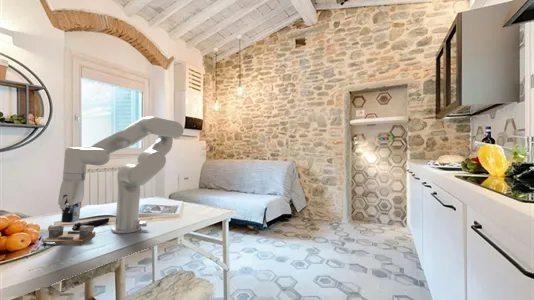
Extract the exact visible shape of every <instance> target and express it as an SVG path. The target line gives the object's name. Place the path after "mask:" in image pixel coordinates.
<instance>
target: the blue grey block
mask: <svg viewBox="0 0 534 300" xmlns="http://www.w3.org/2000/svg"><path fill="white" fill-rule="evenodd" d="M66 207H68V209H69V206H66ZM71 213H72V221H71V222H70V223H73V224H74V223H75V222H78V221H79V220H80V214H81V205H80V206H76V205H75V204H74V205H73V206H72V210H71ZM62 216H63V213H62V212H61V217H62ZM60 221H61V223H63V222H62V218H61V220H60Z"/></svg>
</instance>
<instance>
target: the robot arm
mask: <svg viewBox="0 0 534 300" xmlns="http://www.w3.org/2000/svg"><path fill="white" fill-rule="evenodd" d="M184 129H185V128H184V126H183V125H182V124H181V123H180V122H178V121H175V120H171V119H165V118H161V117H156V116H145V117H141V118H140V119H138V120H136V121H134V122H133V123H131V124H130V125H128V126H126V127H124V128H123V129H121V130H119V131H117V132H115V133H113V134H111V135H110V136H107V137H105V138H103V139H101V140H99V141H98V142H96V143H94V144H93V145H91V146H89V147H88V148H85V147H78V146H76V147H75V146H69V147H67V148H66V149H65V150H64V161H63V170H62V173H63V174H62V181H61V185H60V189H59V194H58V200H57V204H58V206H59V208H60V210H61V214H62V213H63V216H62V215H61V219H62V222H61V223H70V222H71V221H72V213H71V210H72V206H73V205H76V206H80V207H81V204H82V202H83V201H84V197H85V181H86V173H87V165H88V166H98V167H99V166H101V167H102V166H104V165H106V164H107V163H109V161H110V159H111V156H110V155H111V154H112V153H114V152H116V151H120V150H123V149H127V148H130V147H132V146H134V145H136V143H138V142H140V141H141V140H143V139H144V138H146V137H148V136H149V135H155V136H157V139H156V140H155V142H153V144H151V145H150V146H148V147H146V149H145V150H144V151H142V152H141V153H140V154H139V155H138V156H137V164H134V163H127V164H124V165H122V166H121V167H119V169H118V172H117V175H116V176H117V199H116V214H115V225H112V227H111V230H110V231H111V232H112V233H115V234H131V233H135V232H138V231H140V230H141V229H142V228H143V227H144V228H145V227H147V226H148V222H146V221H141V218H139V212H140V209H139V208H140V198H141V197H140V196H141V187H142V186H144V185H146V184H147V183H148V182H150V180H152V179H153V178H154V177H155V176H156V175H157V174H158V173H160V171H162V169H163V168H164V167H165V166H166V163H167V157H166V155H168V154H169V152H170V151H171V150H172V148H173V144H174V143H173V140H174V139H178V138H180V137H181V136H182V135H183V134H184ZM66 206H69V209H68V207H66Z"/></svg>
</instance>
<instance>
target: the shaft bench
mask: <svg viewBox="0 0 534 300" xmlns="http://www.w3.org/2000/svg"><path fill="white" fill-rule="evenodd" d="M64 227H65V226H64V225H63V224H61V225H59V224H57V225H56V224H50V225H49V226H48V228H47V231H48V237H46V238H44V239H42V240H41V243H42V242H55V243H56V244H55V245H59V246H60V245H62V246H63V245H66V246H67V245H68V246H69V245H70V246H71V245H74V246H75V245H78V246H79V245H80V246H81V245H84V244H85V243H86V242H87V241H89V240H90V239H92V238H93V237H94V236H96V231H94V229H95V226H80V229H78V230H67V231H65V230H64Z"/></svg>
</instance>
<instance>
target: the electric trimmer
mask: <svg viewBox="0 0 534 300" xmlns="http://www.w3.org/2000/svg"><path fill="white" fill-rule="evenodd" d="M109 222H110V218H109V217H105V218H100V219H95V220H89V221H86V222H77V223H75V224H73V226H72V227H71V229H72V231H79V229H80V226H94V227H98V226H101V225H105V224H107V223H109Z"/></svg>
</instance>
